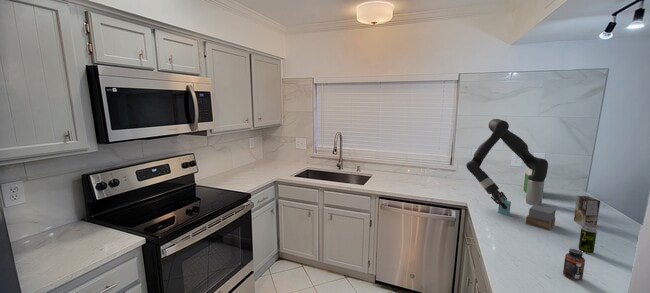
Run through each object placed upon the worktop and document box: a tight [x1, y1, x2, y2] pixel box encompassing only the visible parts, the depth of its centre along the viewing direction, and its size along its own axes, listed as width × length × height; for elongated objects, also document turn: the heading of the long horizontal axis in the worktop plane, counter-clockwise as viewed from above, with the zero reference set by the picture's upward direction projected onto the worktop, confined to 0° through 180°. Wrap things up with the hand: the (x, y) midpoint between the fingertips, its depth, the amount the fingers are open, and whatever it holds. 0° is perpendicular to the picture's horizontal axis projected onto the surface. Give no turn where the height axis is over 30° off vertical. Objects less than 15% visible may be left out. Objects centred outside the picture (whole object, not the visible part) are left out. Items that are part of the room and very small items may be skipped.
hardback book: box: [523, 165, 535, 194], centre depth 213 cm, size 18×7×24 cm, turn 156°
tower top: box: [528, 205, 557, 222], centre depth 158 cm, size 10×10×5 cm
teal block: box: [497, 199, 512, 216], centre depth 176 cm, size 5×5×8 cm
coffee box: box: [573, 195, 601, 229], centre depth 158 cm, size 9×6×16 cm
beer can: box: [578, 225, 598, 254], centre depth 129 cm, size 5×5×12 cm
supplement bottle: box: [562, 248, 586, 281], centre depth 110 cm, size 6×6×11 cm
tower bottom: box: [525, 214, 556, 231], centre depth 159 cm, size 11×11×5 cm
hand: (507, 207), depth 175 cm, fingers closed on teal block, 5 cm apart
